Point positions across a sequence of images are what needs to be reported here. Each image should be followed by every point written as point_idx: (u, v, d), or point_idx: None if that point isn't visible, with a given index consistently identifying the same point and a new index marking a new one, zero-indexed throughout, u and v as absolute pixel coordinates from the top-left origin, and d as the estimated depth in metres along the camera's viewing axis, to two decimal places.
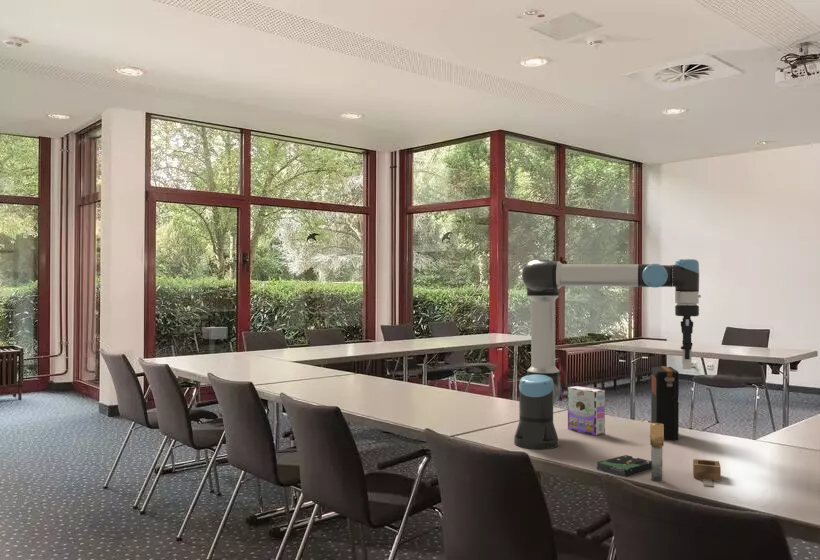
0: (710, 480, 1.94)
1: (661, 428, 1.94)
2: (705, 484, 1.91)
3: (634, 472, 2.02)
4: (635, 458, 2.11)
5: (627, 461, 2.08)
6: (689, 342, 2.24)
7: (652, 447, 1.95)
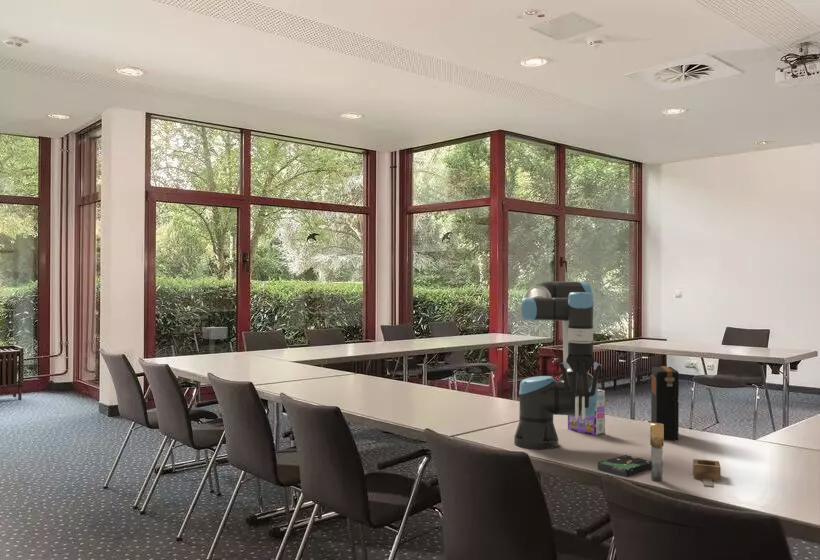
0: (710, 480, 1.94)
1: (661, 428, 1.94)
2: (705, 484, 1.91)
3: (635, 472, 2.02)
4: (635, 458, 2.12)
5: (627, 461, 2.08)
6: None
7: (652, 447, 1.95)
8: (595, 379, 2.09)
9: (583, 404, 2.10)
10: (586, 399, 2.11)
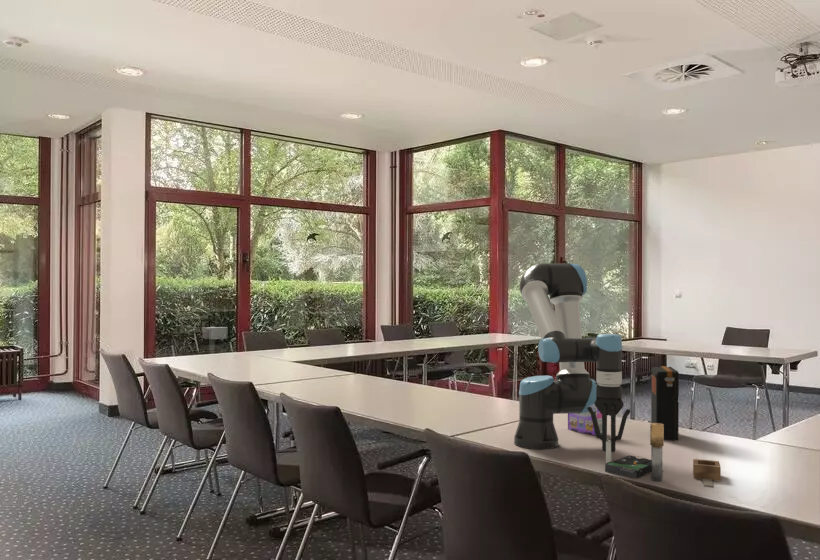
0: (710, 480, 1.94)
1: (661, 428, 1.94)
2: (705, 484, 1.91)
3: (643, 473, 2.00)
4: None
5: (634, 462, 2.06)
6: None
7: (652, 447, 1.95)
8: (623, 423, 2.06)
9: (609, 448, 2.07)
10: (612, 443, 2.08)
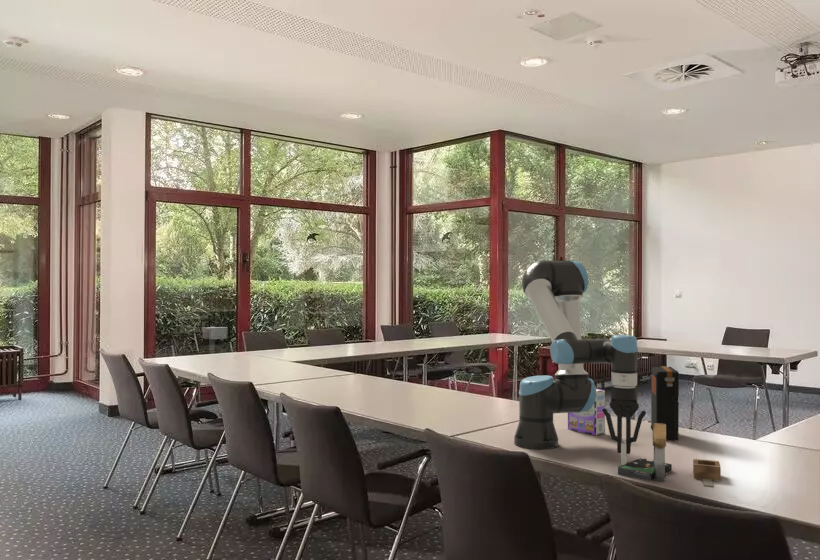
0: (710, 480, 1.94)
1: (663, 428, 1.94)
2: (705, 484, 1.91)
3: None
4: (651, 461, 2.08)
5: (646, 465, 2.04)
6: (610, 434, 2.08)
7: (654, 447, 1.95)
8: (638, 425, 2.05)
9: (625, 450, 2.06)
10: (628, 445, 2.06)
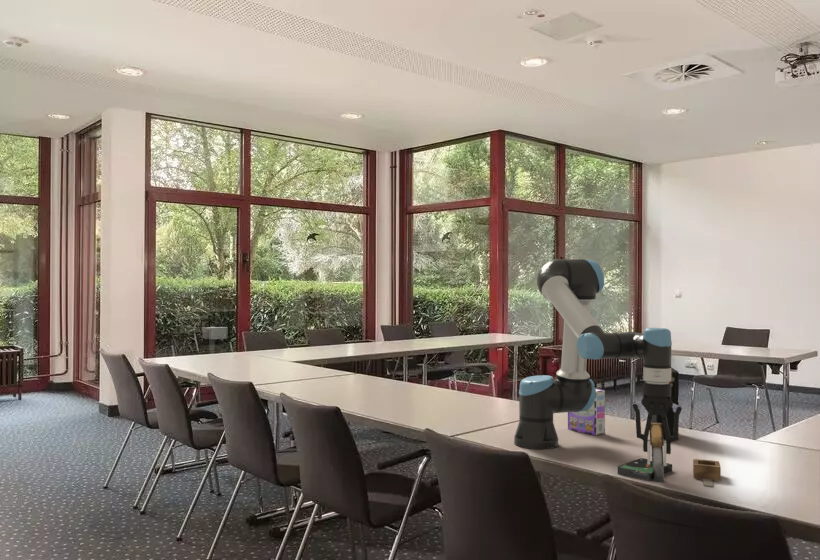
0: (710, 480, 1.94)
1: (660, 428, 1.94)
2: (705, 484, 1.91)
3: None
4: (651, 461, 2.08)
5: (646, 464, 2.04)
6: (636, 431, 1.97)
7: (652, 447, 1.95)
8: (676, 422, 1.93)
9: (665, 450, 1.94)
10: (668, 444, 1.94)
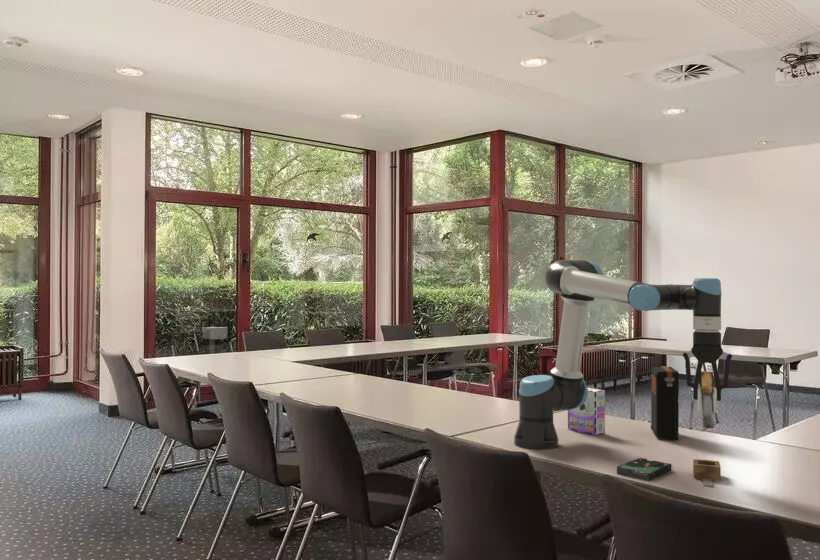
0: (710, 480, 1.94)
1: (711, 375, 1.97)
2: (705, 484, 1.91)
3: (656, 475, 1.98)
4: (651, 461, 2.08)
5: (646, 464, 2.04)
6: (686, 380, 2.01)
7: (702, 395, 1.99)
8: (727, 370, 1.96)
9: (715, 397, 1.97)
10: (718, 391, 1.98)
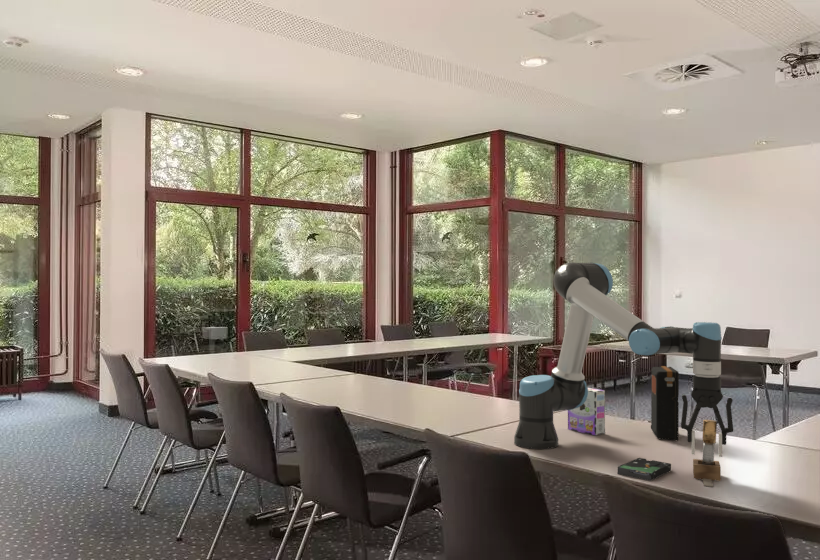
0: (710, 480, 1.94)
1: (714, 425, 1.97)
2: (705, 484, 1.91)
3: (657, 475, 1.98)
4: None
5: (646, 464, 2.04)
6: (681, 422, 2.01)
7: (704, 443, 1.98)
8: (729, 414, 1.96)
9: (720, 441, 1.97)
10: (723, 435, 1.97)
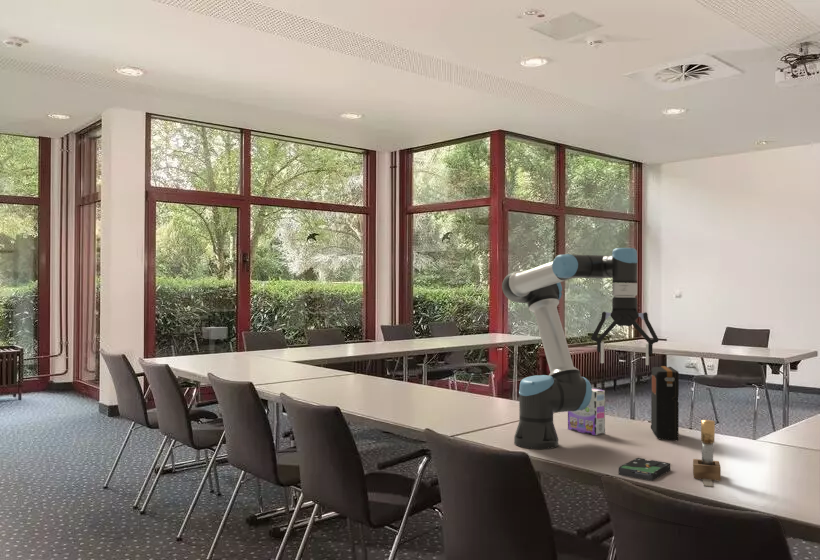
0: (710, 480, 1.94)
1: (712, 425, 1.97)
2: (705, 484, 1.91)
3: (658, 475, 1.98)
4: None
5: (646, 464, 2.04)
6: (593, 334, 2.19)
7: (703, 443, 1.99)
8: (649, 326, 2.13)
9: (647, 350, 2.13)
10: (650, 345, 2.13)
